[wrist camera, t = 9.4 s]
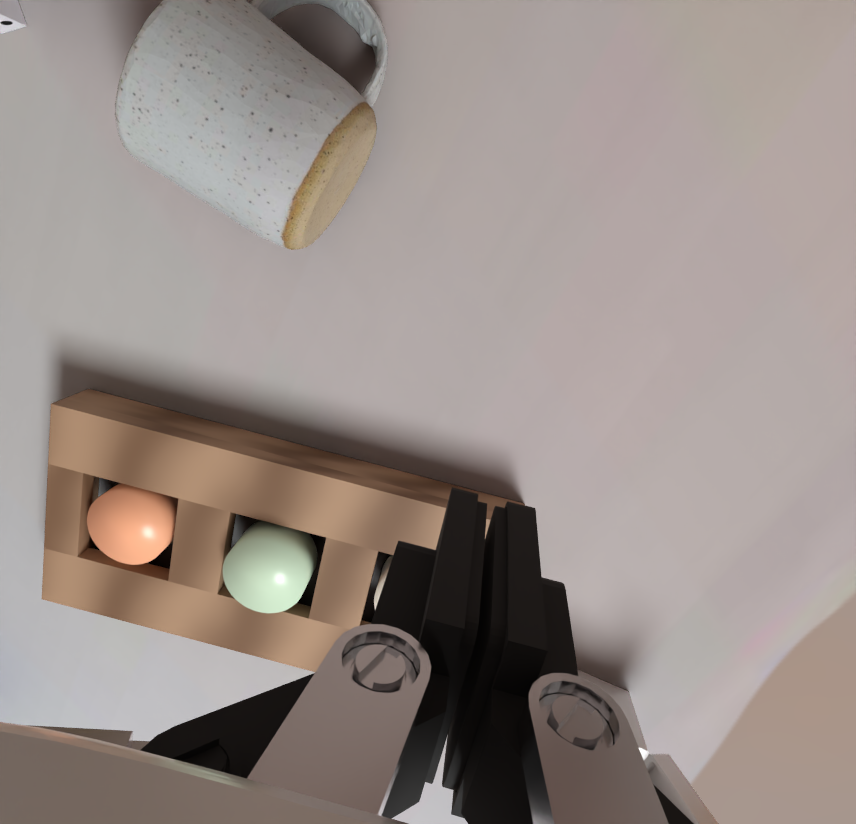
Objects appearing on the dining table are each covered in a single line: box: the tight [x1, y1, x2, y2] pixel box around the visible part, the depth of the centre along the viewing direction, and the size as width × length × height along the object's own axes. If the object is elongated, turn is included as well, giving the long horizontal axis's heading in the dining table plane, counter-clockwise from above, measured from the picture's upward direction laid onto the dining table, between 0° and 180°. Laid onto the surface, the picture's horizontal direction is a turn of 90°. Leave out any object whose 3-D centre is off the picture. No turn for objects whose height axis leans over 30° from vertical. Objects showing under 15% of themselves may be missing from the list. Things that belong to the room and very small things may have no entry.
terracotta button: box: [87, 483, 179, 565], centre depth 33 cm, size 4×4×2 cm
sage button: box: [223, 520, 318, 613], centre depth 32 cm, size 4×4×2 cm
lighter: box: [578, 670, 718, 824], centre depth 32 cm, size 7×2×8 cm, turn 66°
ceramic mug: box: [115, 0, 388, 250], centre depth 24 cm, size 11×8×8 cm
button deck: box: [42, 389, 525, 672], centre depth 33 cm, size 25×12×3 cm, turn 76°
